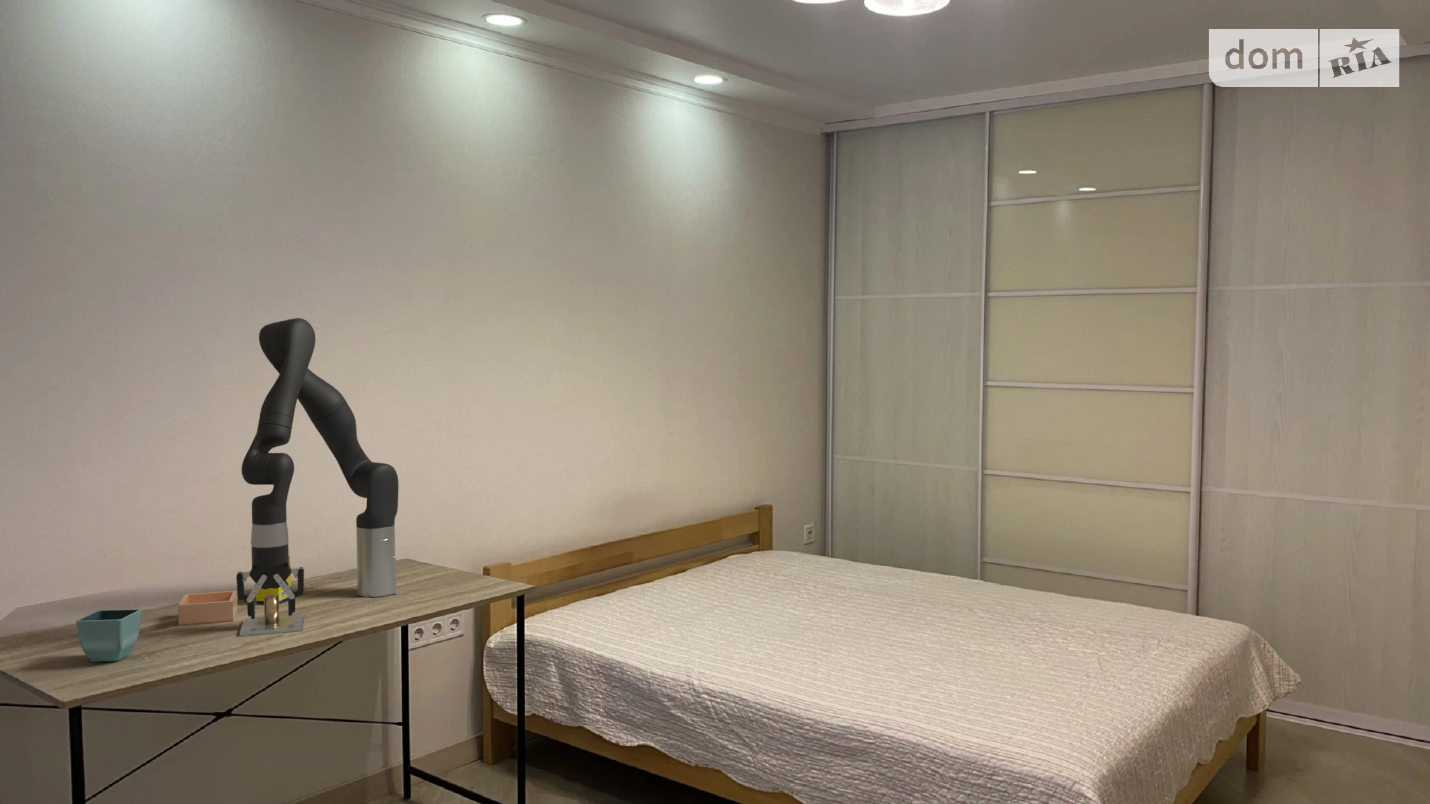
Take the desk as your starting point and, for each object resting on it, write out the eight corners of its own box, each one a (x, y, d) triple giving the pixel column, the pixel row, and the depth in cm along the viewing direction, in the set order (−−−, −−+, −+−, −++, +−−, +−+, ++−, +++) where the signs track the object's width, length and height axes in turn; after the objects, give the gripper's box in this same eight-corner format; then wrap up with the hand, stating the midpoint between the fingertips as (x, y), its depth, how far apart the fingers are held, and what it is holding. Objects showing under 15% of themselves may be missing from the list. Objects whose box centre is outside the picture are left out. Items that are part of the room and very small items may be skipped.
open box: (237, 611, 243) (237, 590, 242) (233, 623, 232) (232, 601, 232) (185, 615, 239) (185, 594, 239) (178, 627, 229) (178, 605, 228)
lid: (302, 617, 236) (301, 587, 236) (300, 630, 225) (299, 600, 224) (244, 622, 232) (243, 592, 231) (239, 636, 221) (239, 604, 220)
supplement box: (291, 598, 255) (290, 555, 254) (279, 604, 249) (278, 560, 248) (268, 598, 256) (267, 554, 255) (255, 604, 250) (254, 559, 249)
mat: (304, 618, 237) (304, 616, 237) (302, 632, 224) (302, 631, 224) (242, 623, 232) (242, 621, 232) (237, 638, 220) (237, 636, 220)
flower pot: (99, 652, 210) (97, 609, 210) (144, 651, 211) (142, 608, 210) (76, 666, 201) (74, 620, 201) (123, 664, 202) (121, 619, 202)
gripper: (305, 537, 233) (307, 609, 234) (235, 541, 228) (237, 615, 229) (304, 543, 226) (306, 617, 227) (232, 548, 221) (234, 623, 222)
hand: (271, 616), depth 228 cm, fingers open, 7 cm apart
